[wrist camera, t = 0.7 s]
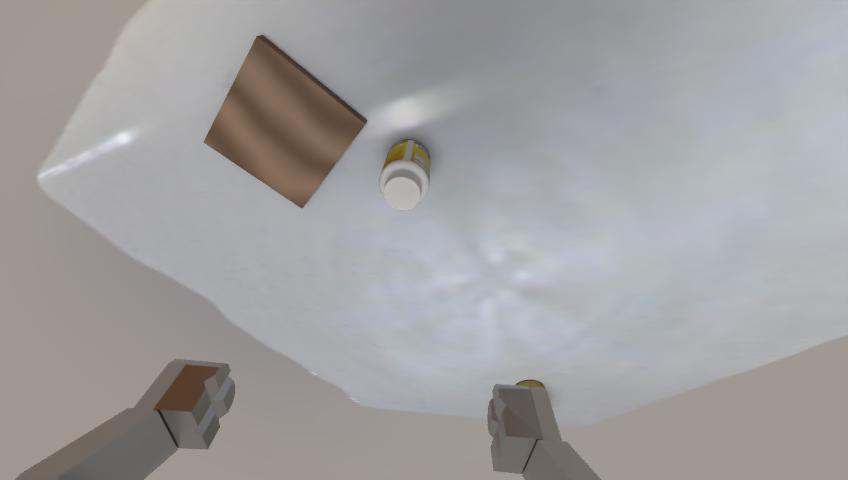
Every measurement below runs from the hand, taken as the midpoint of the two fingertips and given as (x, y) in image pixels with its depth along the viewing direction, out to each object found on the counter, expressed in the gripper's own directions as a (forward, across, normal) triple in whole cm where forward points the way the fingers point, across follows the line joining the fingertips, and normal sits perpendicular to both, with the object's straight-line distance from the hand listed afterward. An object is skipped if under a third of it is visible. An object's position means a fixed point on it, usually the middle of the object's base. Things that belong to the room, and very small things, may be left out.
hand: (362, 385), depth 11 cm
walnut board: (+38, +16, +4) cm, 41 cm away
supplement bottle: (+38, +1, +6) cm, 38 cm away
